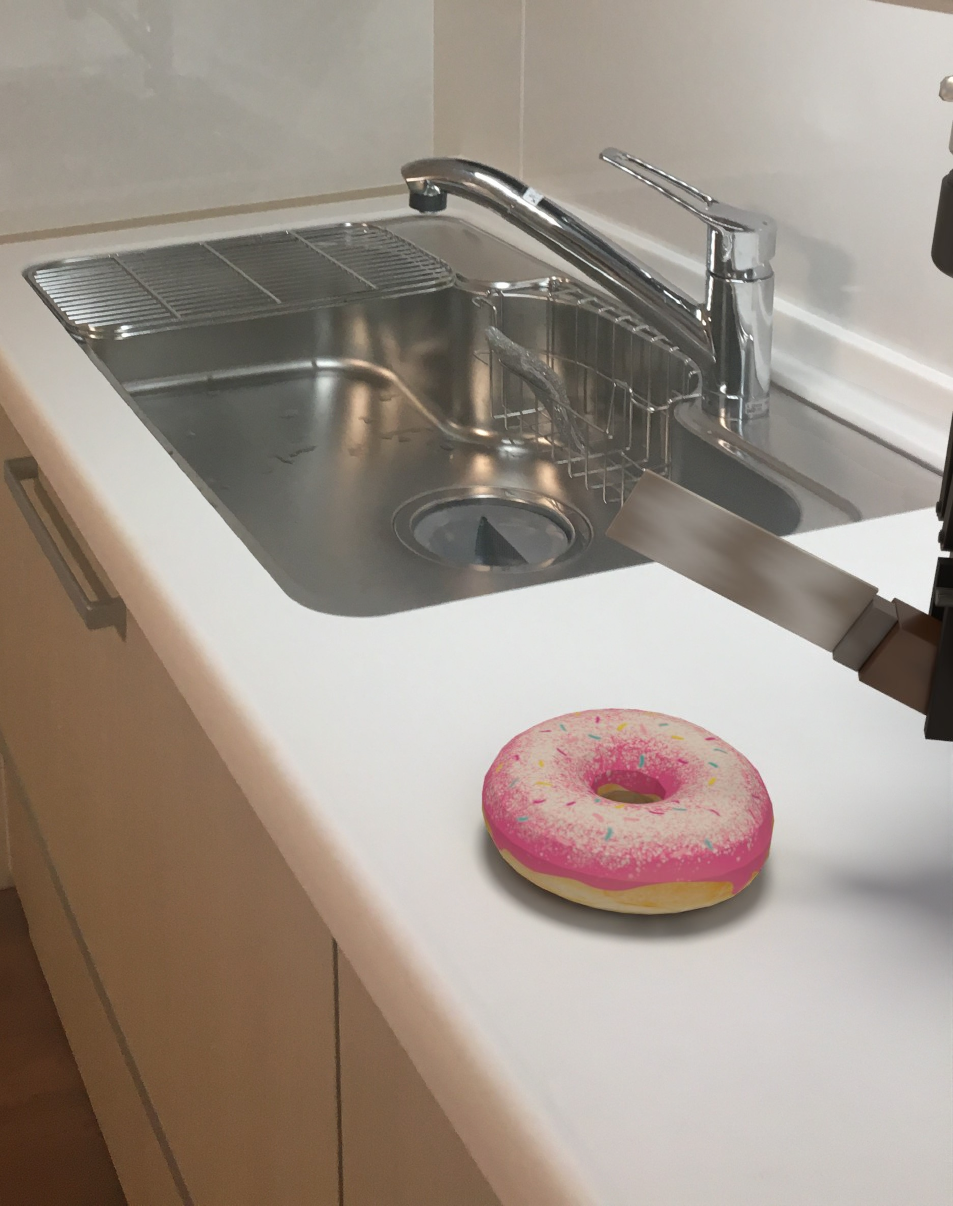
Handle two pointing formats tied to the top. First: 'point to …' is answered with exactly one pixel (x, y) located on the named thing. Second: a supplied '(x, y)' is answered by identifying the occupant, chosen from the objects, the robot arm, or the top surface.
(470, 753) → the top surface
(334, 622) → the top surface
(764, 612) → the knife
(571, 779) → the donut
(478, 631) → the top surface
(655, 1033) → the top surface
